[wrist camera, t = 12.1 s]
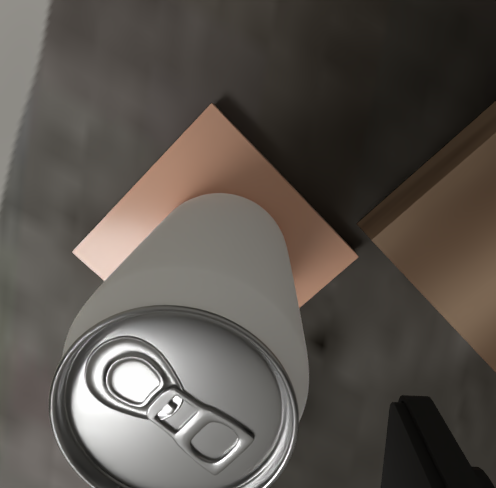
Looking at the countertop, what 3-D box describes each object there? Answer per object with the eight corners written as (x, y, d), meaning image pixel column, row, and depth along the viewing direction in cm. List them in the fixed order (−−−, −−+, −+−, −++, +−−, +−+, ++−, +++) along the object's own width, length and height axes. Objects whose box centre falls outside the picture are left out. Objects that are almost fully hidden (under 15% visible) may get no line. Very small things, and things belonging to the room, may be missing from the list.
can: (213, 161, 20) (144, 222, 8) (315, 250, 21) (381, 414, 9) (130, 261, 21) (-27, 430, 10) (229, 339, 22) (194, 574, 11)
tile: (354, 250, 22) (358, 256, 21) (217, 369, 24) (216, 379, 23) (214, 103, 20) (211, 103, 19) (80, 246, 22) (72, 252, 21)
